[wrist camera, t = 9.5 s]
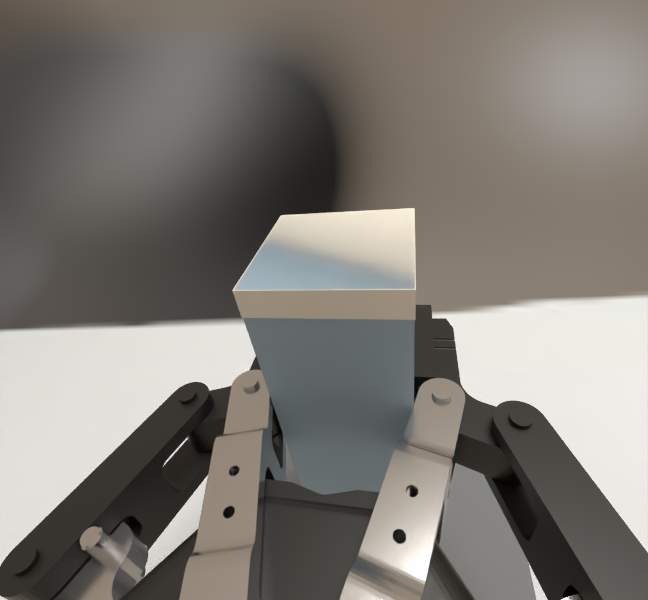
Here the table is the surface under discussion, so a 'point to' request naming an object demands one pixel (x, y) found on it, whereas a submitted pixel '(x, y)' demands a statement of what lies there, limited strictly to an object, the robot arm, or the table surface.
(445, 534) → the mat
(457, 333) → the table surface
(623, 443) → the table surface
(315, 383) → the blue block
